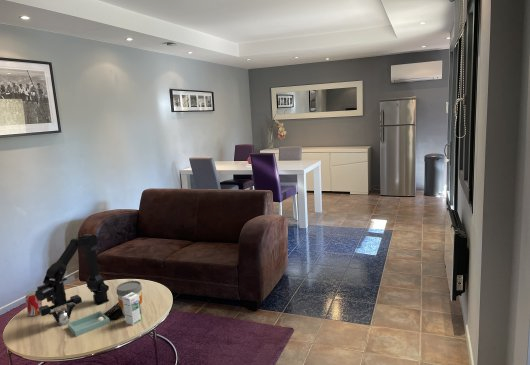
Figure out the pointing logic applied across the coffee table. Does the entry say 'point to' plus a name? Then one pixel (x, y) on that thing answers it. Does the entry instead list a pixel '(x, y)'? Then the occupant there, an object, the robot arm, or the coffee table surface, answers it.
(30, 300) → the soda can
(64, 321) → the cylinder
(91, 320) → the tray
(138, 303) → the syrup box
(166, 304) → the coffee table surface
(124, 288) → the reusable coffee cup
